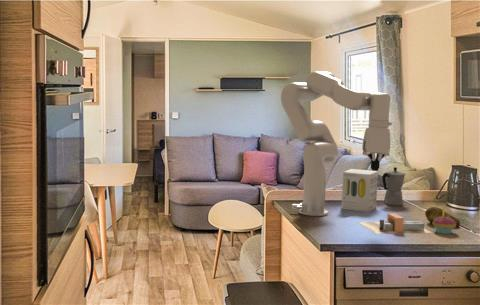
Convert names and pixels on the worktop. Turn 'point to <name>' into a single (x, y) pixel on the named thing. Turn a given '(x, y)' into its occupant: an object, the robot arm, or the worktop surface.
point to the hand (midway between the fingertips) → (374, 170)
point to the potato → (439, 215)
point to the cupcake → (444, 223)
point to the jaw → (405, 222)
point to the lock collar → (396, 221)
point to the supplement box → (359, 190)
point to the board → (375, 228)
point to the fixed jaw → (405, 226)
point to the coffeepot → (393, 187)
